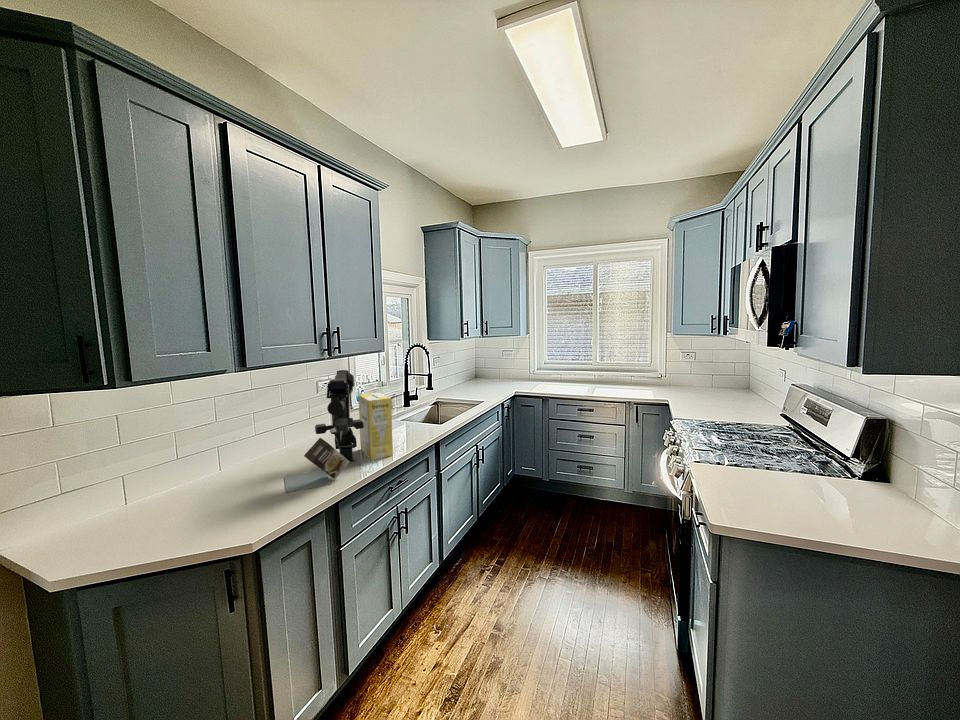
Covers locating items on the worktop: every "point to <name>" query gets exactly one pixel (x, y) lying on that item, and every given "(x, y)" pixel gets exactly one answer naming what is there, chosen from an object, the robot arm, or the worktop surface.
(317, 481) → the mat
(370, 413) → the pasta box
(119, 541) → the worktop surface
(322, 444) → the coffee box
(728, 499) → the worktop surface
